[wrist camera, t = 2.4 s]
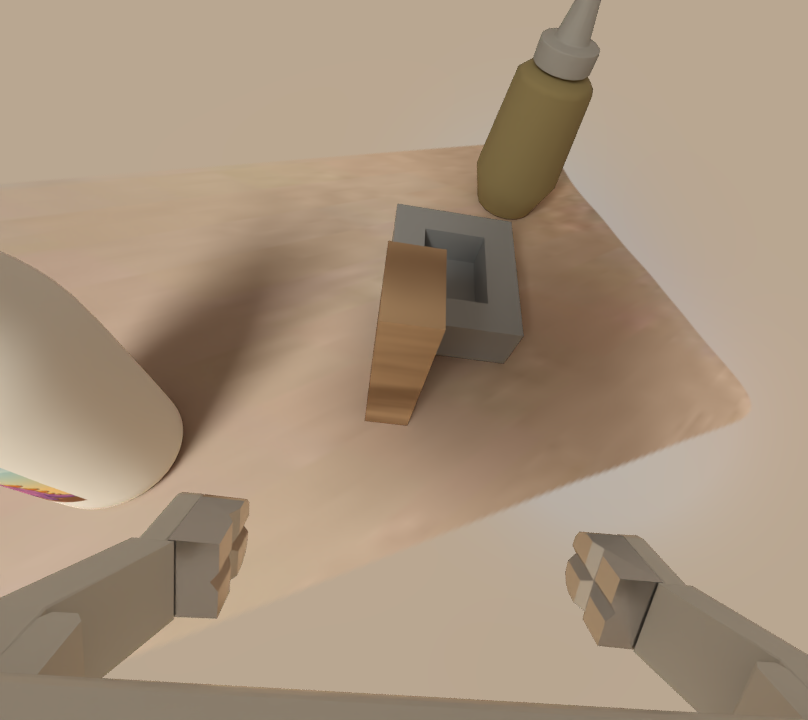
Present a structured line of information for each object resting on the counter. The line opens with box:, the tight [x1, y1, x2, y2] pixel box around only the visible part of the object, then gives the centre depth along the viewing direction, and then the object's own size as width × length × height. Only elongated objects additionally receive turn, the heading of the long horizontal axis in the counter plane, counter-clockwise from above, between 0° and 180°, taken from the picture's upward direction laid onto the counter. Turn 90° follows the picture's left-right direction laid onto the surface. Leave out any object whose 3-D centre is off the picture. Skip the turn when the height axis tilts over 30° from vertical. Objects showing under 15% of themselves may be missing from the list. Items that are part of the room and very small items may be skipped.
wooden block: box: [365, 241, 447, 426], centre depth 24 cm, size 5×3×12 cm, turn 176°
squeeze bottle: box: [477, 0, 601, 219], centre depth 34 cm, size 8×8×18 cm
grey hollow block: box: [392, 204, 523, 363], centre depth 33 cm, size 12×10×4 cm
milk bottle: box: [0, 251, 183, 509], centre depth 16 cm, size 8×8×20 cm
